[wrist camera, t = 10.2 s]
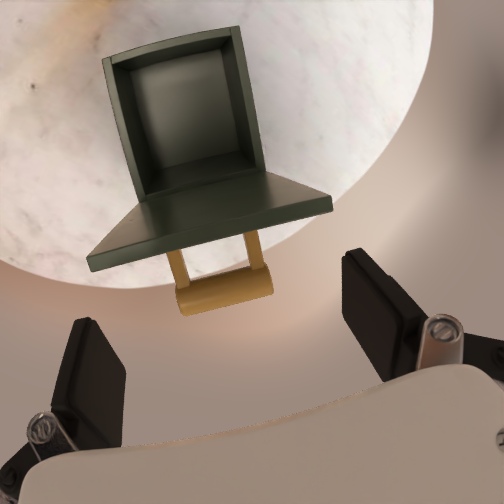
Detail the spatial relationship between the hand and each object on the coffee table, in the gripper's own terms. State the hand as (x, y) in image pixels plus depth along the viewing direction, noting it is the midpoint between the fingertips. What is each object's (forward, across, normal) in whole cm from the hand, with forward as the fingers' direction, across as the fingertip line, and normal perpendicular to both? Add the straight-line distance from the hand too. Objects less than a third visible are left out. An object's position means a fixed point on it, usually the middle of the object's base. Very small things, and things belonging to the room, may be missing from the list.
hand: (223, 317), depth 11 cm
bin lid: (+11, 0, -1) cm, 11 cm away
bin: (+28, 0, -5) cm, 29 cm away
